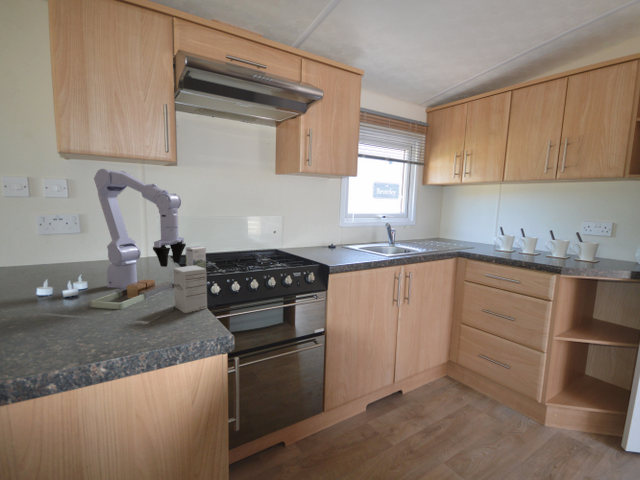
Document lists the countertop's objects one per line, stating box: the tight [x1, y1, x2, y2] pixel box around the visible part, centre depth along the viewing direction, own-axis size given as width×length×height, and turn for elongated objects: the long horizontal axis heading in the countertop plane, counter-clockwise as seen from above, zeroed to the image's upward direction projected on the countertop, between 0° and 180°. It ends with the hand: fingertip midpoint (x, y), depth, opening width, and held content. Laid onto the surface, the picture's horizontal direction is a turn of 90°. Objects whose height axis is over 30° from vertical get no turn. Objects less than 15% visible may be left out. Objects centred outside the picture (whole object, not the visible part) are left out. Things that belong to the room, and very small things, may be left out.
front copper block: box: [127, 281, 146, 297], centre depth 109 cm, size 4×4×4 cm
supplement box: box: [173, 265, 208, 314], centre depth 98 cm, size 7×7×13 cm
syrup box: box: [184, 245, 207, 270], centre depth 130 cm, size 6×6×14 cm
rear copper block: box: [137, 278, 156, 289], centre depth 113 cm, size 4×4×4 cm
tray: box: [88, 292, 146, 310], centre depth 101 cm, size 11×11×2 cm
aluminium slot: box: [114, 281, 174, 300], centre depth 113 cm, size 12×14×3 cm
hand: (170, 264), depth 117 cm, fingers open, 7 cm apart
